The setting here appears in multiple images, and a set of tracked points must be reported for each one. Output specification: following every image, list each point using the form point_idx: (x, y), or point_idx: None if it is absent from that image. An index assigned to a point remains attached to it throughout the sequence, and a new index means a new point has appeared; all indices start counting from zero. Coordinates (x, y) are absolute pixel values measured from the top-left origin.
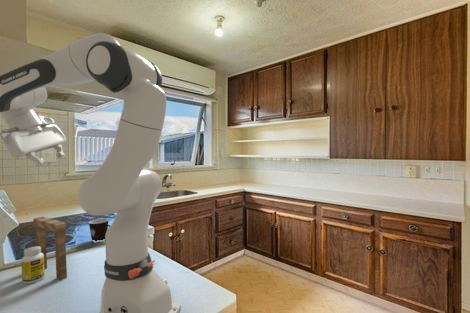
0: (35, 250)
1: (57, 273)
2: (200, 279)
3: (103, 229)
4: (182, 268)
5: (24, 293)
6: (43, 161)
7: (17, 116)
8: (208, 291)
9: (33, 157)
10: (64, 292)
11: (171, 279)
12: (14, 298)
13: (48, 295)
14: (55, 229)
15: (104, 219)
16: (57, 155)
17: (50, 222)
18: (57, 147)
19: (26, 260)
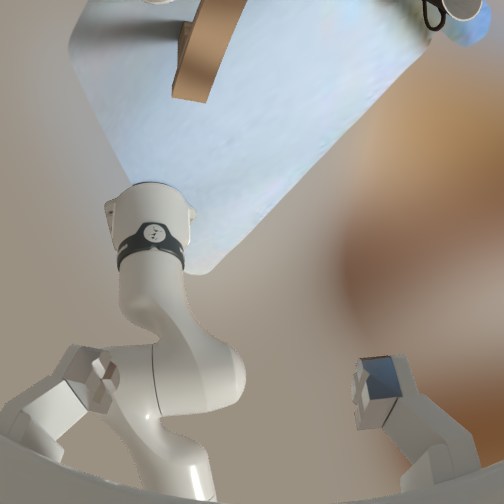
0: (153, 1)
1: (182, 29)
2: (237, 241)
3: (435, 5)
4: (266, 212)
5: (111, 22)
6: (111, 387)
7: None
8: (211, 257)
9: (43, 420)
10: (140, 93)
11: (229, 215)
12: (91, 25)
13: (122, 75)
14: (174, 79)
15: (478, 4)
16: (364, 388)
17: (199, 35)
18: (407, 475)
19: None
